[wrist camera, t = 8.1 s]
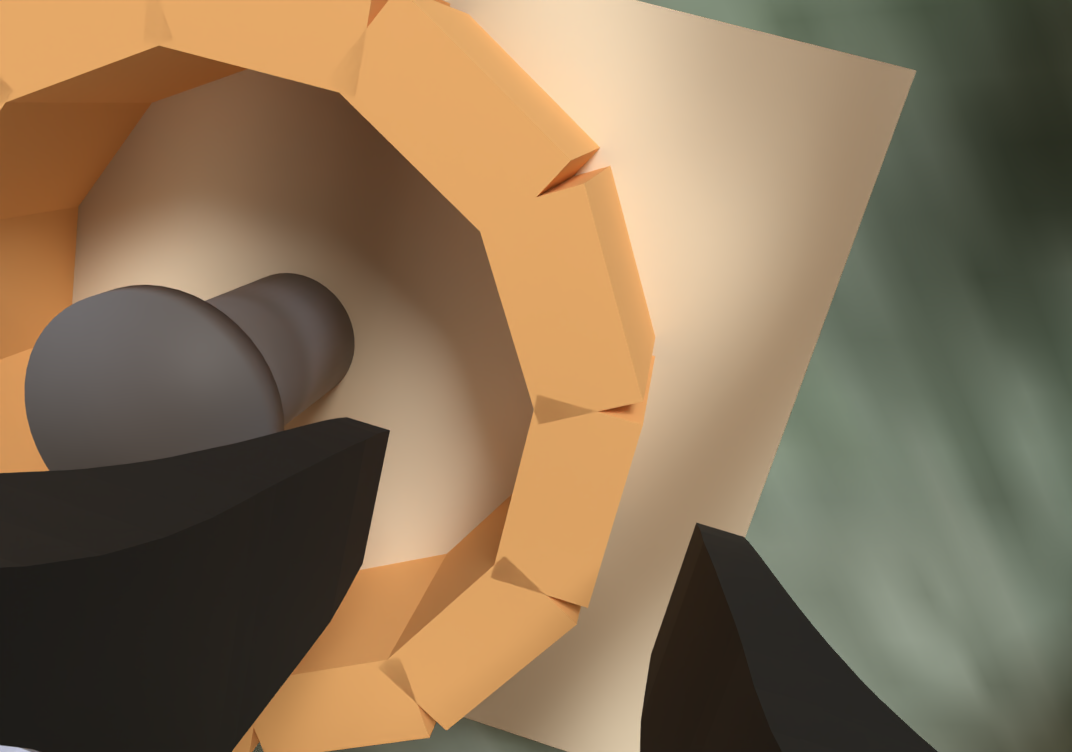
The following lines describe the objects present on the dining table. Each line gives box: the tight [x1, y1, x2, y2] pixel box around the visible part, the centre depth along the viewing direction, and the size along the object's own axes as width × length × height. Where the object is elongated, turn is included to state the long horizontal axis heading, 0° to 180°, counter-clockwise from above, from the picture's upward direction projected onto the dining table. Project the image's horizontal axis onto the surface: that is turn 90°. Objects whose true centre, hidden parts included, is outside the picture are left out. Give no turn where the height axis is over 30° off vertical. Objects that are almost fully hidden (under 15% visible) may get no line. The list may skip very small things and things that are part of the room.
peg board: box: [24, 0, 916, 752], centre depth 15 cm, size 18×14×6 cm
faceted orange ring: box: [0, 0, 655, 752], centre depth 15 cm, size 12×12×4 cm
